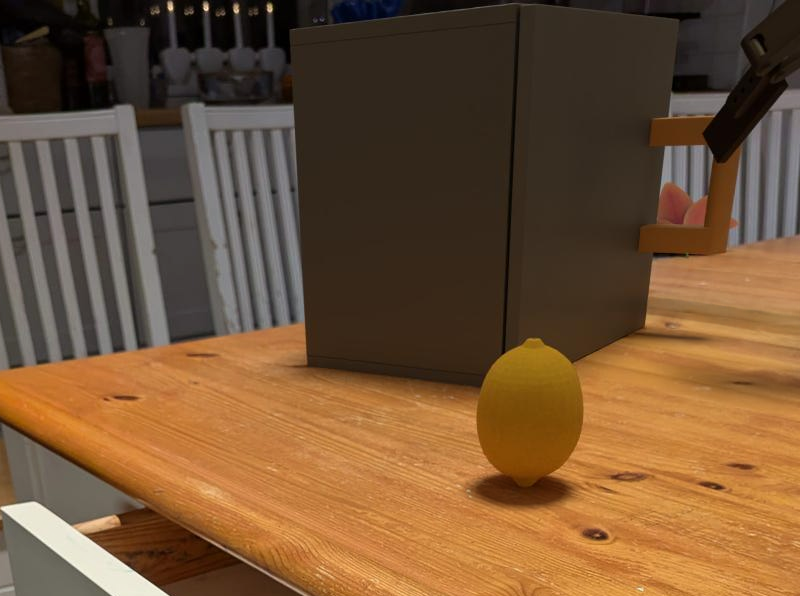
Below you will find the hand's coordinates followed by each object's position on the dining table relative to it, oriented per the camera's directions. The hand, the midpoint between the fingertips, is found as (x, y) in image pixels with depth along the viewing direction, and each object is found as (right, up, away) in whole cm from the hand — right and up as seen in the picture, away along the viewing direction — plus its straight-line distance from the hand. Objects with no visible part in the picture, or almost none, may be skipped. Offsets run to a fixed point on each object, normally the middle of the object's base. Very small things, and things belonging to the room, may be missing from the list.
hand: (784, 143), depth 71 cm
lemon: (-23, -29, -18) cm, 41 cm away
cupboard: (-21, -11, +13) cm, 27 cm away
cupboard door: (-10, -14, +6) cm, 18 cm away
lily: (+9, +7, +44) cm, 46 cm away
